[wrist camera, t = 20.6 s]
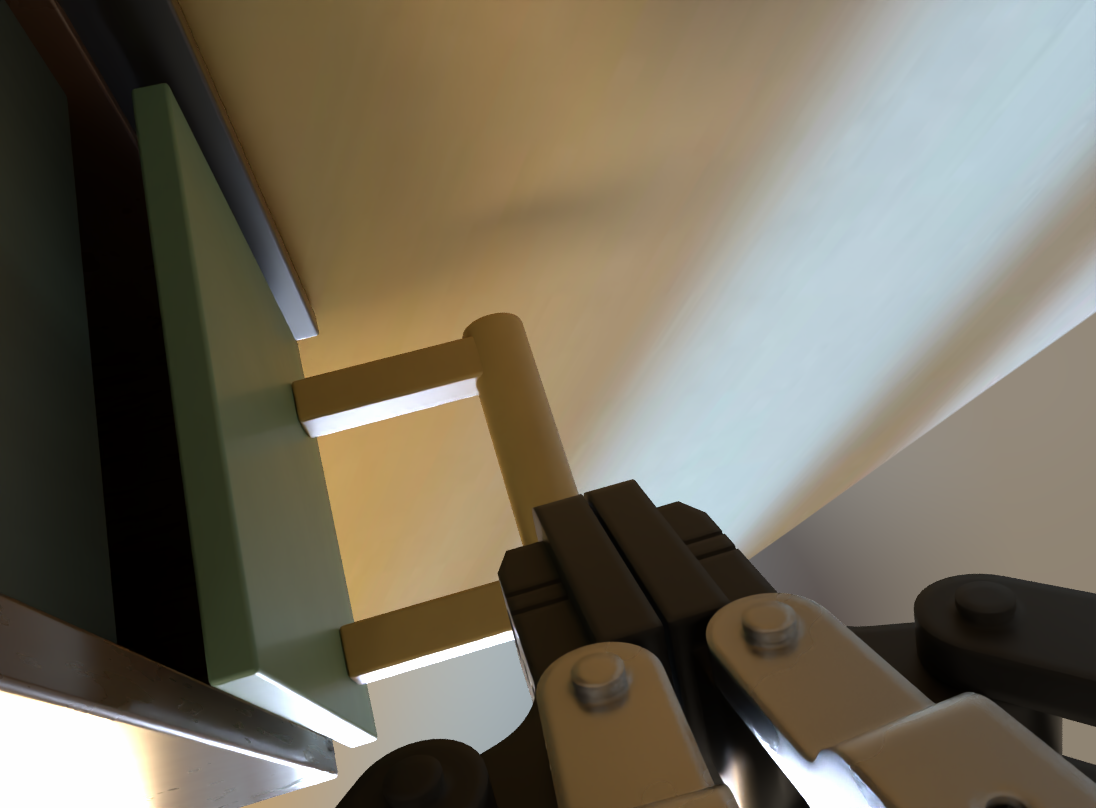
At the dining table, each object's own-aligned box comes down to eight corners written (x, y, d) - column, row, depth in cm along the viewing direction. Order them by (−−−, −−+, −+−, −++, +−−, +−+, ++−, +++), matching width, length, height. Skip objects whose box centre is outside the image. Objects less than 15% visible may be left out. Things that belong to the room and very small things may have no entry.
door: (273, 349, 22) (349, 748, 18) (128, 87, 14) (207, 686, 10) (501, 292, 23) (621, 665, 19) (481, 15, 15) (677, 549, 11)
